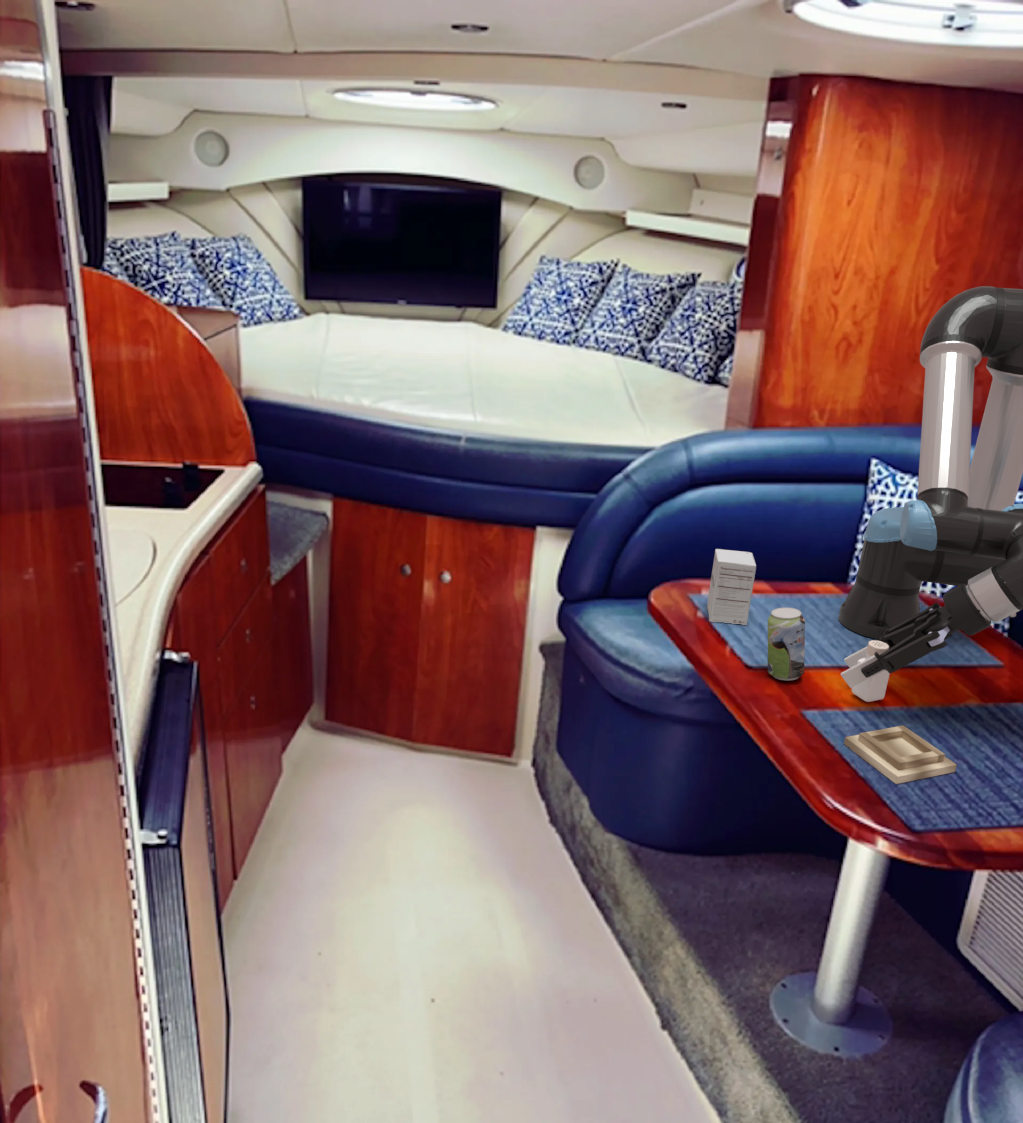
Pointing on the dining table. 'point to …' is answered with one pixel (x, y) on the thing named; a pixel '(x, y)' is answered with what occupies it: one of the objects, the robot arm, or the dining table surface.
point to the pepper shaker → (876, 684)
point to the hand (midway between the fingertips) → (847, 672)
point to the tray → (900, 754)
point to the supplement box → (731, 586)
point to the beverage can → (786, 643)
